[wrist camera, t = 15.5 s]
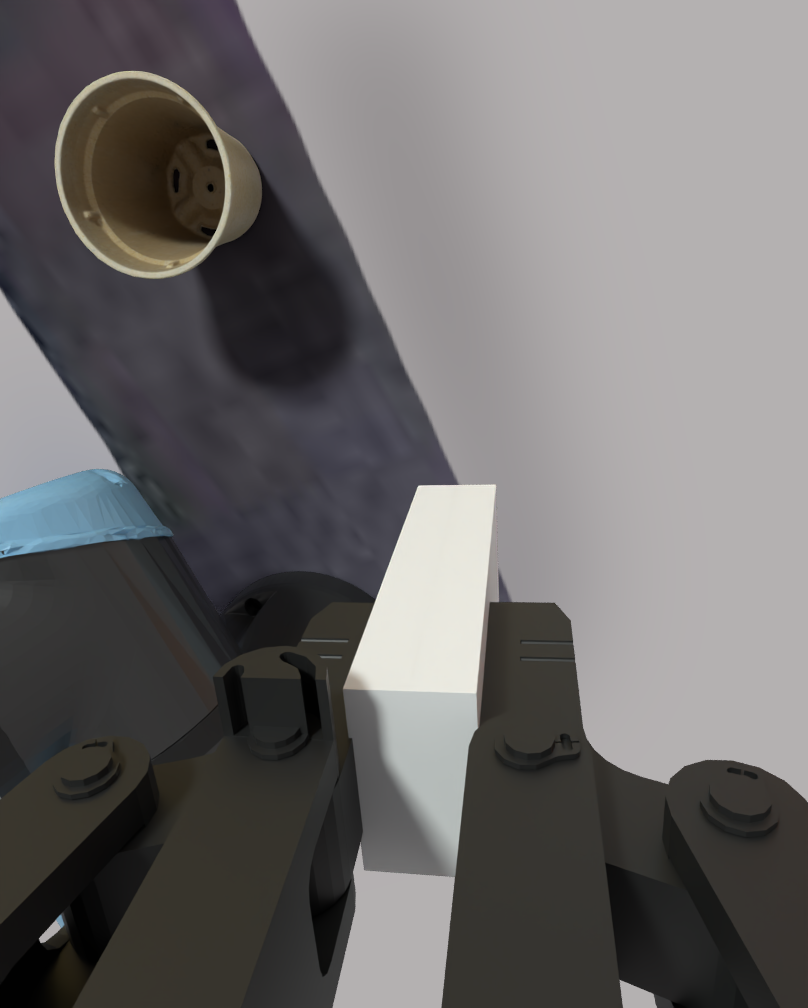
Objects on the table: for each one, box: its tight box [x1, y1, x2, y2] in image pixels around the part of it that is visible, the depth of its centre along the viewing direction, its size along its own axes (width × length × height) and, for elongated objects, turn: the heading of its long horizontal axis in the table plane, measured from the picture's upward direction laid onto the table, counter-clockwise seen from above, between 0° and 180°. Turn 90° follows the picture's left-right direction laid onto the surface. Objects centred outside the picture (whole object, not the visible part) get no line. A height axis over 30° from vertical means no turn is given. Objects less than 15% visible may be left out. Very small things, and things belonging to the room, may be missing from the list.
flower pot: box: [55, 71, 262, 279], centre depth 40 cm, size 9×9×9 cm
